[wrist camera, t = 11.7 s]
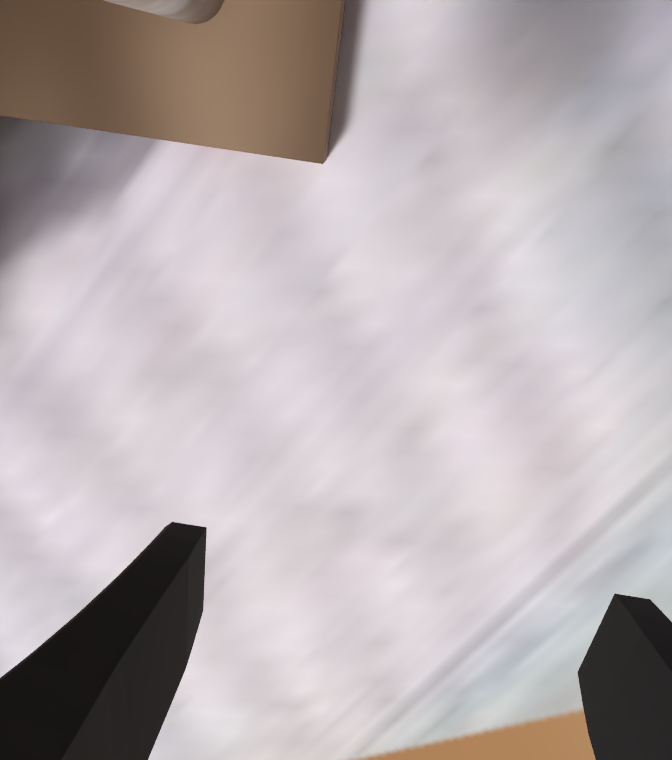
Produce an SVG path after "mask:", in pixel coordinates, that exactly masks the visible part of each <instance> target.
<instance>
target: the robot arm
mask: <svg viewBox="0 0 672 760" xmlns="http://www.w3.org/2000/svg"><path fill="white" fill-rule="evenodd" d="M205 551H206V527H200V526H194V525H187V524H181V523H175V522H172V523H170V524H169V525H167V526H166V527H165V528H164V529H163V530H162V531H161V532H160V533H159V535H158V536H157V537H156V538H155V539H154V540H153V541H152V542H151V543H150V544H149V545H148V546H147V547H146V548H145V549H144V550H143V551H142V552H141V553H140V555H139V556H138V557H137V558H136V559H135V560H134V561H133V562H132V563H131V564H130V565H129V566H128V567H127V568H126V569H125V570H124V571H123V572H122V573H121V574H120V575H119V576H118V577H117V578H116V579H114V580H113V581H112V582H111V583H110V584H109V585H108V586H107V587H106V588H105V589H104V590H103V591H102V592H101V593H100V594H99V595H97V596H96V597H95V598H94V599H93V600H92V601H91V602H90V603H89V604H88V605H87V606H86V607H85V608H84V609H82V610H81V611H80V612H79V613H78V614H77V615H76V616H75V617H74V618H72V619H71V620H70V621H69V622H68V623H67V624H65V625H64V626H63V627H62V628H61V629H60V630H58V631H57V632H56V633H55V634H54V635H53V636H51V637H50V638H49V639H48V640H47V641H46V642H44V643H43V644H42V645H41V646H40V647H38V648H37V649H36V650H35V651H34V652H33V653H31V654H30V655H29V656H28V657H26V658H25V659H24V660H23V661H21V662H20V663H19V664H18V665H16V666H15V667H14V668H13V669H11V670H10V671H9V672H7V673H6V674H5V675H4V676H2V677H1V678H0V760H148V758H149V755H150V753H151V751H152V748H153V746H154V744H155V741H156V739H157V736H158V734H159V732H160V729H161V727H162V724H163V722H164V720H165V717H166V715H167V712H168V710H169V708H170V705H171V703H172V700H173V698H174V696H175V693H176V691H177V688H178V686H179V683H180V681H181V679H182V676H183V674H184V671H185V669H186V666H187V663H188V659H189V656H190V653H191V650H192V646H193V643H194V640H195V636H196V633H197V629H198V626H199V623H200V619H201V616H202V612H203V599H204V575H205ZM578 677H579V683H580V689H581V695H582V702H583V707H584V713H585V717H586V723H587V728H588V733H589V737H590V740H591V744H592V747H593V751H594V755H595V758H596V760H672V622H671V621H670V620H669V619H668V618H667V617H666V616H665V615H664V614H663V613H662V611H661V610H660V609H659V608H658V607H657V606H656V605H655V604H654V603H653V602H652V601H651V600H650V599H644V598H638V597H631V596H625V595H619V594H614V596H613V599H612V601H611V603H610V605H609V607H608V609H607V611H606V613H605V615H604V618H603V620H602V622H601V624H600V626H599V628H598V630H597V632H596V635H595V637H594V639H593V641H592V643H591V645H590V647H589V649H588V651H587V654H586V656H585V658H584V660H583V662H582V664H581V666H580V668H579V671H578Z"/></svg>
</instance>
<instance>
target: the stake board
mask: <svg viewBox="0 0 672 760" xmlns="http://www.w3.org/2000/svg"><path fill="white" fill-rule="evenodd" d="M344 7H345V0H0V115H1V116H8V117H14V118H21V119H28V120H34V121H41V122H48V123H54V124H61V125H68V126H74V127H81V128H88V129H94V130H101V131H108V132H114V133H121V134H128V135H134V136H141V137H148V138H154V139H161V140H168V141H174V142H181V143H187V144H194V145H201V146H207V147H214V148H221V149H227V150H234V151H241V152H247V153H254V154H261V155H267V156H274V157H281V158H287V159H294V160H301V161H307V162H314V163H321V164H323V163H324V162H325V161H326V159H327V153H328V144H329V136H330V127H331V119H332V110H333V101H334V93H335V84H336V76H337V67H338V59H339V50H340V42H341V33H342V24H343V16H344Z"/></svg>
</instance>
